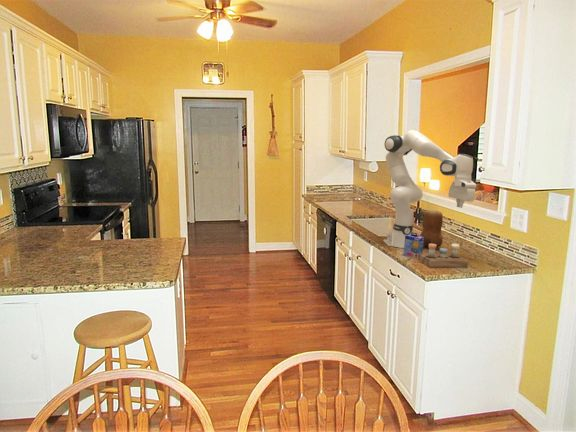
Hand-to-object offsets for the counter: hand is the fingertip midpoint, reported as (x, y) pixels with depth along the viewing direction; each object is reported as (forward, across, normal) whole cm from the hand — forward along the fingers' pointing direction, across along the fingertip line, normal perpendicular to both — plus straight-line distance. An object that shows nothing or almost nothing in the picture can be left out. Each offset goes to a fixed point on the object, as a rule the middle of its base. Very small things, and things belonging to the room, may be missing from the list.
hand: (459, 207), depth 246 cm
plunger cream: (+27, +8, -5) cm, 28 cm away
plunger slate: (+29, +8, -12) cm, 33 cm away
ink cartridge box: (+31, -9, -21) cm, 39 cm away
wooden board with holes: (+31, +8, -12) cm, 34 cm away
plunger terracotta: (+27, +8, -19) cm, 34 cm away
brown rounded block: (+31, -28, +1) cm, 42 cm away
